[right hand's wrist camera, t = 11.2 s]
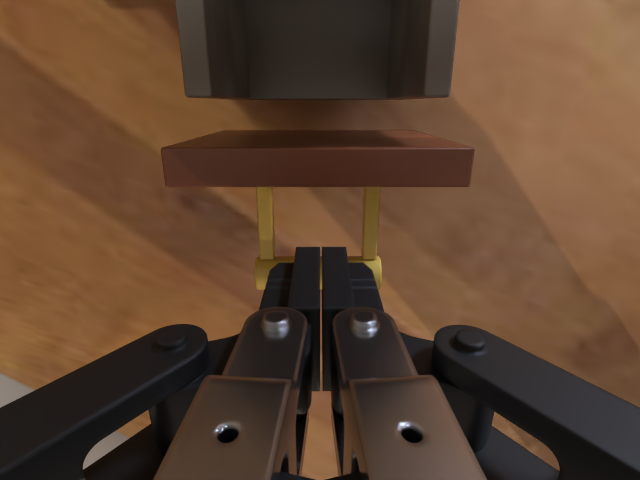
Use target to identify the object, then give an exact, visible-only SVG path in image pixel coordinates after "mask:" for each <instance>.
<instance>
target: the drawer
mask: <svg viewBox="0 0 640 480" xmlns="http://www.w3.org/2000/svg"><path fill="white" fill-rule="evenodd" d="M459 1H460V0H175V3H176V13H177V22H178V31H179V41H180V50H181V60H182V69H183V78H184V88H185V95H186V97H192V98H212V99H232V100H404V99H423V98H443V97H448V96H449V95H450V89H451V79H452V69H453V59H454V49H455V40H456V30H457V20H458V10H459ZM161 155H162V162H163V170H164V178H165V185H166V186H167V187H256V196H257V214H258V232H259V251H260V256H259V257H257V259H256V262H255V285H256V288H257V289H258V290H265V286H266V282H267V278H268V275H269V271H270V270H271V269H272V268H273V267H274V266H275V265H277V264H278V263H294V259H295V256H275V240H274V215H273V191H272V187H364V201H363V228H362V256H347V258H348V263H364V264H366V265H367V266H368V267H369V268H370V269H372V270H373V274H374V277H375V281H376V285H377V289H380V287H381V283H382V265H381V260H380V257H378V256H377V240H378V221H379V201H380V187H469V186H470V180H471V172H472V165H473V157H474V148H472V147H469V146H466V145H462V144H459V143H455V142H452V141H448V140H445V139H441V138H437V137H434V136H430V135H427V134H423V133H420V132H416V131H413V130H224V131H220V132H217V133H213V134H209V135H206V136H202V137H199V138H195V139H192V140H188V141H184V142H181V143H177V144H174V145H170V146H166V147H163V148H161ZM320 290H322V256H320Z"/></svg>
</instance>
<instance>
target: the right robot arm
mask: <svg viewBox="0 0 640 480" xmlns="http://www.w3.org/2000/svg"><path fill="white" fill-rule="evenodd" d="M322 371H323V391H331V400H332V405H331V421H332V429H333V436H334V444H335V452H336V460H337V468H338V477H334V478H330V479H326V480H640V408H639V407H637V406H635V405H633V404H631V403H629V402H627V401H625V400H623V399H621V398H619V397H617V396H615V395H613V394H611V393H609V392H607V391H605V390H603V389H601V388H599V387H597V386H595V385H593V384H591V383H589V382H587V381H585V380H583V379H581V378H579V377H577V376H575V375H573V374H571V373H569V372H567V371H565V370H563V369H561V368H559V367H557V366H555V365H553V364H551V363H549V362H547V361H545V360H543V359H541V358H539V357H537V356H535V355H533V354H531V353H529V352H527V351H525V350H523V349H521V348H519V347H517V346H515V345H513V344H511V343H509V342H507V341H505V340H503V339H501V338H499V337H497V336H495V335H493V334H491V333H489V332H487V331H485V330H482V329H479V328H476V327H472V326H467V325H451V326H446V327H444V328H441V329H440V330H438V331H437V333H436V334H435V337H434V341H430V340H425V339H420V338H416V337H412V336H409V335H406V334H404V333H401V332H400V331H399V330H398V328H397V326H396V324H395V322H394V320H393V319H392V317H391V316H389V315H388V314H387V313H385V312H384V310H383V306H382V302H381V299H380V295H379V292H378V289H377V285H376V281H375V277H374V274H373V270H372V269H370V268H369V267H368V266H367V265H366V264H364V263H348V258H347V251H346V247H322ZM312 391H320V247H296V252H295V259H294V263H278V264H277V265H275V266H274V267H273V268H272V269H271V270H270V271H269V275H268V278H267V282H266V286H265V290H264V293H263V297H262V301H261V304H260V308H259V311H257V312H255V313H253V314H252V315H251V316H249V317H248V319H247V320H246V322H245V324H244V326H243V328H242V330H241V333H239V334H237V335H234V336H232V337H228V338H223V339H218V340H213V341H208V339H207V334H206V332H205V331H204V330H203V329H201V328H200V327H198V326H194V325H189V324H176V325H170V326H166V327H163V328H160V329H158V330H155V331H153V332H151V333H149V334H147V335H145V336H143V337H141V338H139V339H137V340H135V341H133V342H131V343H129V344H127V345H125V346H123V347H121V348H119V349H117V350H115V351H113V352H111V353H109V354H107V355H105V356H103V357H101V358H99V359H97V360H95V361H93V362H91V363H89V364H87V365H85V366H83V367H81V368H79V369H77V370H75V371H73V372H71V373H69V374H67V375H65V376H63V377H61V378H59V379H57V380H55V381H53V382H51V383H49V384H47V385H45V386H43V387H41V388H39V389H37V390H35V391H33V392H31V393H29V394H27V395H25V396H23V397H21V398H19V399H17V400H15V401H13V402H11V403H9V404H7V405H5V406H3V407H1V408H0V480H314V479H310V478H306V477H302V468H303V460H304V452H305V444H306V436H307V429H308V421H309V408H310V405H311V394H312ZM147 410H149V415H150V420H151V424H150V425H149V426H147V427H146V428H144V429H143V430H141V431H140V432H138V433H137V434H135V435H134V436H132V437H131V438H129V439H128V440H127V441H125V442H124V443H122V444H121V445H119V446H118V447H116V448H115V449H113V450H112V451H110V452H109V453H108V454H106V455H105V456H103V457H102V458H100V459H99V460H97V461H96V462H94V463H93V464H91V465H90V466H88V467H87V468H85V469H84V470H83V462H84V460H85V457H86V456H87V454H88V452H89V451H90V450H91V449H92V448H93V446H94V445H95V444H97V443H98V442H99V441H100V440H102V439H103V438H105V437H107V436H108V435H110V434H111V433H113V432H114V431H116V430H117V429H119V428H120V427H122V426H123V425H125V424H127V423H128V422H130V421H131V420H133V419H134V418H136V417H137V416H139V415H140V414H142V413H143V412H145V411H147ZM494 411H495V412H497V413H498V414H500V415H501V416H503V417H504V418H506V419H507V420H509V421H510V422H512V423H513V424H515V425H517V426H518V427H520V428H521V429H523V430H524V431H526V432H527V433H529V434H530V435H532V436H533V437H535V438H537V439H538V440H540V441H541V442H542V443H544V444H545V445H546V446H547V447H548V448H549V449H550V450H551V451H552V452H553V453H554V455H555V456H556V458H557V460H558V462H559V466H560V471H558V470H556V469H554V468H553V467H552V466H550V465H549V464H547V463H546V462H544V461H543V460H541V459H540V458H538V457H537V456H535V455H534V454H532V453H531V452H530V451H528V450H527V449H525V448H524V447H522V446H521V445H519V444H518V443H516V442H515V441H513V440H512V439H511V438H509V437H508V436H506V435H505V434H503V433H502V432H500V431H499V430H497V429H496V428H494V427H493V426H491V425H492V420H493V415H494Z"/></svg>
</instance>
